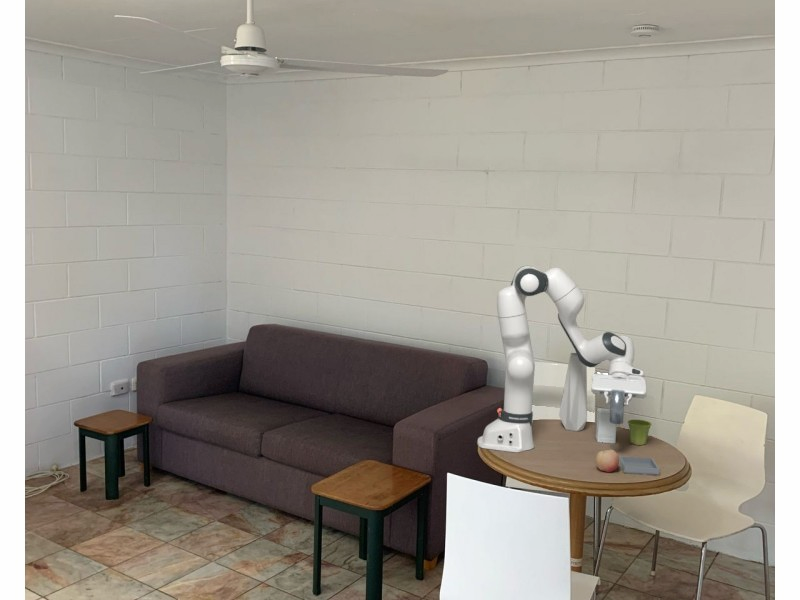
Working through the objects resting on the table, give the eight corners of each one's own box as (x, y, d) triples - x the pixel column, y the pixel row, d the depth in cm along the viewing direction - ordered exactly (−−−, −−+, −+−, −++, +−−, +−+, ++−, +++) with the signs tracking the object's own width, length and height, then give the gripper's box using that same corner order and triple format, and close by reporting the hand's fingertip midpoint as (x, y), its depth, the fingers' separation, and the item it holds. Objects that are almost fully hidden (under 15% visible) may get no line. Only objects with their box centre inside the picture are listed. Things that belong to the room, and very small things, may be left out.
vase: (577, 434, 319) (582, 358, 315) (555, 428, 328) (559, 353, 324) (594, 429, 327) (598, 355, 324) (571, 423, 336) (575, 350, 332)
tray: (624, 473, 273) (624, 466, 272) (618, 462, 285) (619, 455, 284) (659, 475, 271) (659, 468, 271) (652, 464, 283) (652, 458, 283)
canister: (610, 423, 283) (612, 392, 281) (608, 420, 288) (609, 389, 286) (624, 424, 282) (625, 392, 281) (621, 420, 287) (623, 389, 286)
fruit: (604, 466, 280) (605, 445, 279) (622, 472, 274) (624, 450, 273) (590, 469, 276) (591, 448, 275) (608, 476, 269) (609, 454, 268)
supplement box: (615, 443, 308) (617, 413, 307) (597, 442, 309) (598, 412, 308) (613, 438, 315) (615, 409, 314) (595, 437, 317) (597, 407, 315)
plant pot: (651, 447, 304) (653, 426, 303) (627, 445, 306) (628, 424, 305) (648, 440, 314) (650, 420, 313) (625, 438, 315) (626, 418, 314)
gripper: (592, 367, 293) (588, 397, 285) (647, 371, 286) (645, 402, 278) (593, 376, 297) (589, 406, 289) (647, 380, 290) (645, 411, 282)
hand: (617, 404), depth 283 cm, fingers closed on canister, 5 cm apart
